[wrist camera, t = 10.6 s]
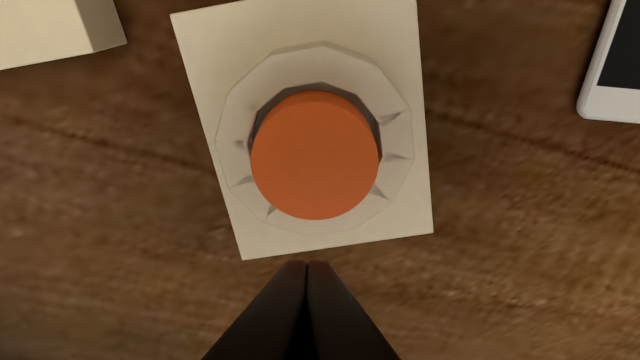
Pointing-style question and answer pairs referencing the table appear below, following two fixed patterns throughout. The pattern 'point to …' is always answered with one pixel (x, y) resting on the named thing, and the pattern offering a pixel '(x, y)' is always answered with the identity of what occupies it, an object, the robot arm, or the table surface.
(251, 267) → the table surface
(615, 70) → the smartphone
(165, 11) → the table surface
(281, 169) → the button
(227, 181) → the button block
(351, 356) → the robot arm
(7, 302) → the table surface
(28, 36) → the dial panel
